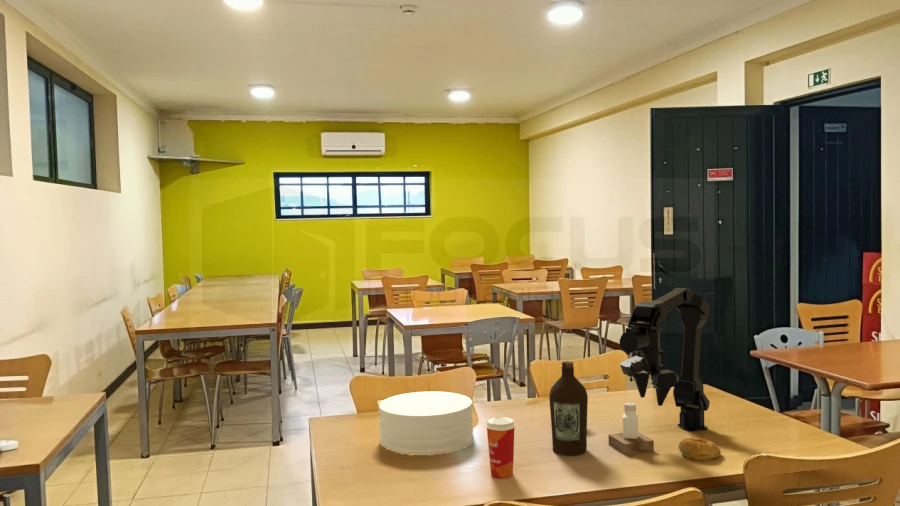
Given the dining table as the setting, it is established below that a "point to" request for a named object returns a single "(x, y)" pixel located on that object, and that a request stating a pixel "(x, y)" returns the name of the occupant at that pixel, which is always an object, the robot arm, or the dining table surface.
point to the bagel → (699, 449)
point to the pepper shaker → (630, 421)
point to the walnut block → (631, 444)
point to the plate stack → (426, 422)
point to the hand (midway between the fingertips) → (651, 401)
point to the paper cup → (501, 446)
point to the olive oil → (568, 413)
